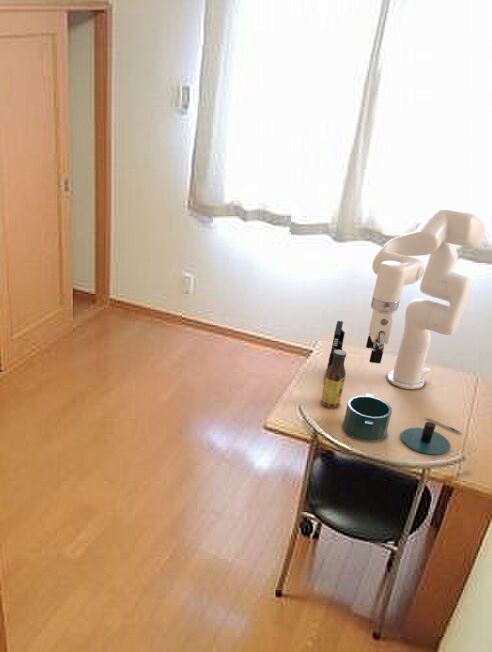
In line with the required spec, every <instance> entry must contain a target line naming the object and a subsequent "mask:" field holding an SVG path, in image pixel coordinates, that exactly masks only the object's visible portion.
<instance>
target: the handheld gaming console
mask: <svg viewBox="0 0 492 652" xmlns="http://www.w3.org/2000/svg"><path fill="white" fill-rule="evenodd" d="M343 324H344V321H343V320H337V322H336V325H335V329H334V335H333V340H332V345H331V350H330V353H329V356H328V362H327V367H326V370H327V369H328V368H329V366H330V365H331V364H332V361H333V353H334V351H335V350H343V343H344V338H345V334H346V332H345V331H344V330H343ZM326 375H327V373H325V376H326Z"/></svg>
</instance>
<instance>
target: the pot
mask: <svg viewBox="0 0 492 652" xmlns="http://www.w3.org/2000/svg"><path fill="white" fill-rule="evenodd" d="M364 394H365V395H356V396H353V397H351V398H350V399H349V400H348V401H347V405H346V410H345V414H344V419H343V424H342V429H343V431H344V432H345V433H346V434H347V436H349V437H350V438H356V439H359V440H363V441H368V442H369V441H370V442H372V441H379V440H382V439H384V438H385V437H386V436H387V432H388V429H389V424H390V420H391V417H392V413H393V411H392V407H391V406H390V405H389V403H388V402H387V401H385V400H383V399H382V398H378V397H375V396H374V394H372V393H364Z"/></svg>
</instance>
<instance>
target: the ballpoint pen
mask: <svg viewBox="0 0 492 652" xmlns="http://www.w3.org/2000/svg"><path fill="white" fill-rule="evenodd" d="M447 428H449V429H451V430H453V431H455V432H459V431H458V430H457V429H455V428H453V427H451V426H449V427H448V426H447Z"/></svg>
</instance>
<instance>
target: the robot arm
mask: <svg viewBox="0 0 492 652" xmlns="http://www.w3.org/2000/svg"><path fill="white" fill-rule="evenodd" d="M485 235H486V224H485V223H484V222H483V221H482V220H481V219H480V218H479V217H478V216H476V215H475V214H472V213H470V212H466V211H461V210H456V209H452V208H451V209H450V208H444V207H442V208H441V207H440V208H436V209H434V210H432V211H431V212H430V213H429V214H428V216H426V217H425V219H424V220H423V221H422V222H421V224H419V226H418V227H417V228H416V230H415V231H413V232H409V233H405V234H401V235H399V236H396V237H394V238H392V239H389V241H387V242H385V244H384V245H383V246H382V247H381V249H380V250H379V251H378V252H377V254H376V255H375V257H374V259H373V261H372V271H373V273H374V274H375V275H376V280H375V285H374V288H373V289H374V290H373V294H372V298H371V303H370V308H371V309H372V313H371V316H370V320H369V321H370V322H369V325H368V326H369V327H368V335H367V341H366V345H365V348H366V349H372V350H371V352H370V357H369V363H371V364H381V363H382V359H383V355H384V349H385V344H386V345H389V343H390V340H391V334H392V329H393V324H394V318H395V316H394V315H395V313H396V312H398V308H399V305H400V301H401V296H402V293H403V288H404V286H409V285H412V284H415V283H417V282H419V280H421V281H420V283H419V291H420V293H422V294H423V295H426V296H427V297H431V298H435V299H439V300H440V301H446V302H448V303H449V305H446V304H443V303H439V302H436V301H433V300H429V299H425V298H413V299H412V300H410V301H409V303H408V304H407V305H406V308H405V316H404V326H403V333H402V337H401V340H400V344H399V348H398V352H397V356H396V360H395V363H394V368H393V370H392V371H391V370H390V372H388V374H387V380H388V382H390V384H392V385H394V386H395V387H398V388H401V389H406V390H418V389H421V388H423V387H424V385H425V379H424V378H423V376H424V375H426V374H428V373H430V372H431V369H430V368H429V367H425V365H426V361H427V357H428V354H429V350H430V346H431V343H432V336H431V332H434V333H437V334H441V335H445V336H451V335H453V334H455V332H457V330H458V328H459V325H460V322H461V320H462V318H463V315H464V312H465V310H466V307H467V304H468V302H469V299H470V296H471V295H472V289H473V281H472V279H471V277H469V276H467V275H466V274H465V275H464V274H461V273H457V272H454V271H455V267H456V264H457V261H458V257H459V255H458V251H457V247H456V246H458V247H459V246H460V247H463V248H466V249H467V248H468V249H475V248H477V247H479V246H480V245H481V244H482V242H483V240H484V238H485ZM428 255H429V257H428V261H427V264H426V267H425V264H424V262H423V261H422V260H421V259H418V258H416V257H417V256H418V257H420V256H428ZM430 331H431V332H430Z"/></svg>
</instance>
